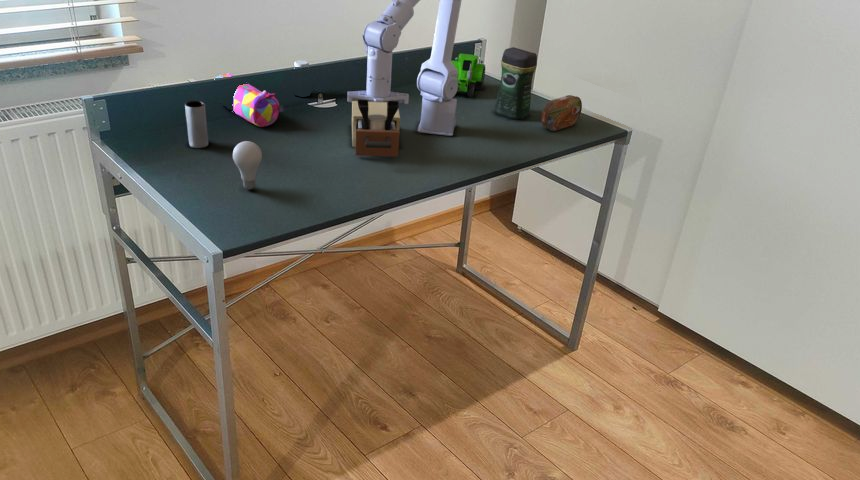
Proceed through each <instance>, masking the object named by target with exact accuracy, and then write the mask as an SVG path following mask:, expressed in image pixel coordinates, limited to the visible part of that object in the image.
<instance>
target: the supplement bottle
mask: <svg viewBox="0 0 860 480" xmlns="http://www.w3.org/2000/svg"><path fill="white" fill-rule="evenodd" d="M309 63H310V62H309V61H308V60H304V59H297V60H295V61H294V65H293V66H294V68H295V67H301V66H307V65H309V66H310V64H309Z"/></svg>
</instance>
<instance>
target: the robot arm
mask: <svg viewBox="0 0 860 480" xmlns="http://www.w3.org/2000/svg"><path fill="white" fill-rule="evenodd" d="M420 1H421V0H391V1H390V3H389V4H388V6H387V7H386V8H385V10H384V11H383V12H382V13H381V14H380V15H379V17H378V18H377V19H376V20H373V21H371V22H369V23H368V24H367V25H366V26H365V28H364V30H363V34H362V36H361V37H362V38H361V39H362V42H363V44H364V46H365V53H366V55H367V58H366V61H367V62H366V63H367V64H366V90H354V91H351V90H350V91H347V102H348V103H352V101H358V107H359V110H360V112H361V114H362V117H363V120H364V124H365V130H368V109H369V107H368V102H387V120H386V130H389V128H390V125H391V122H392V119H393V117H394V115H395V114H396V112H397V110H398V109H399V108H400V107H399V106H400V105H399V104H404V105H409V103H410V95H409V93H403V92H396V91H391V90H392V87H391V86H392V69H393V68H392V67H393V51H394V50H395V49H396V48H397V46H398V44H399V42H400V38H401V36H402V31H403V29H404V28H405V27H406V25H407V24H408V23H409V22H410V21H411V20H412V18H413V17H414V15H415V10H414V8H415V7H416V5H417V4H418V3H419V2H420ZM461 5H462V0H439V4H438V10H437V16H436V23H435V28H434V34H433V39H432V40H433V41H432V45H431V53H430V58H428V59H427V60H426V61H424V62H422V63H421V67H420V71H419V73H418V75H417V78H416V87H417V89H418V91H419V93H420V94H419V95H420V96H422V100H421V111H420V112H421V114H420V121H419V123H418V127H417V133H422V134H428V135H429V134H430V135H438V136H439V135H440V136H446V137H452V136H453V135H454V131H455V128H456V125H457V119H456V117H457V109H458V107H457V105H458V99H457V98H454V97H455V96H456V94H457V92H458V91H457V89H458V80H457V77H458V70H457V69H456V68H455V66H454V65H453V64H452V62H451V60H452V58H453V50H454V46H455V41H456V40H455V39H456V34H457V28H458V23H459V17H460V11H461Z"/></svg>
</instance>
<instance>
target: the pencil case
mask: <svg viewBox="0 0 860 480" xmlns="http://www.w3.org/2000/svg"><path fill="white" fill-rule="evenodd" d="M231 76H234V75H233V74H232V73H224V74H220V75H217V76H216V77H215V78H223V77H231ZM275 95H276V93H270V92H268V91H267V90H263V91H261V90H259V88H256V87H255V86H253V85H252V84H250V83H248V84H243V85H239V86H238V87H237V89H236V91H235V93H234V96H233V104H232V106H233V111H234V112H235V113H234V112H233V111H232V112H233V113H234V114H236V115H237V116H239V117H241V118H243V119H244V120H245V121H247V122H249V123H251V124H253V125H254V126H257V127H260V128H264V127H268V126H271V125H273V124H274V123H275V122H276V121H277V119H278V117H279V115H280V114H279V113H282V112H284V109H285V108H284V106H285V105H284V104H282V105H280V103H279V100H278V98H276V97H275Z"/></svg>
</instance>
